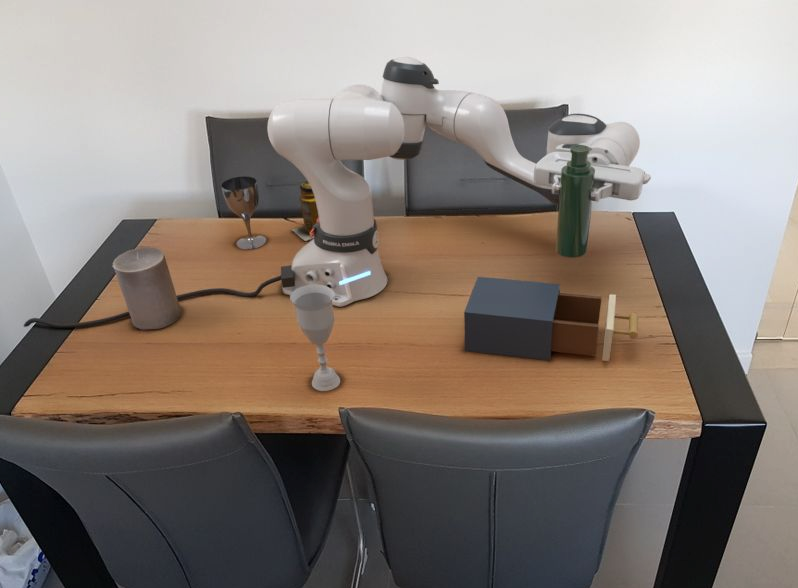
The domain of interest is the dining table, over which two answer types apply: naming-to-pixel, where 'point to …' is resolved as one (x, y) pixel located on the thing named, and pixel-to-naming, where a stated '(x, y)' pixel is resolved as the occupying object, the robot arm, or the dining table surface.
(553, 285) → the cabinet
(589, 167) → the bottle
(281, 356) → the dining table surface
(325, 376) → the chalice
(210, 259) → the dining table surface
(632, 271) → the dining table surface
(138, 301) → the pillar candle
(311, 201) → the condiment
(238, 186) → the shiny metal goblet
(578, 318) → the drawer
